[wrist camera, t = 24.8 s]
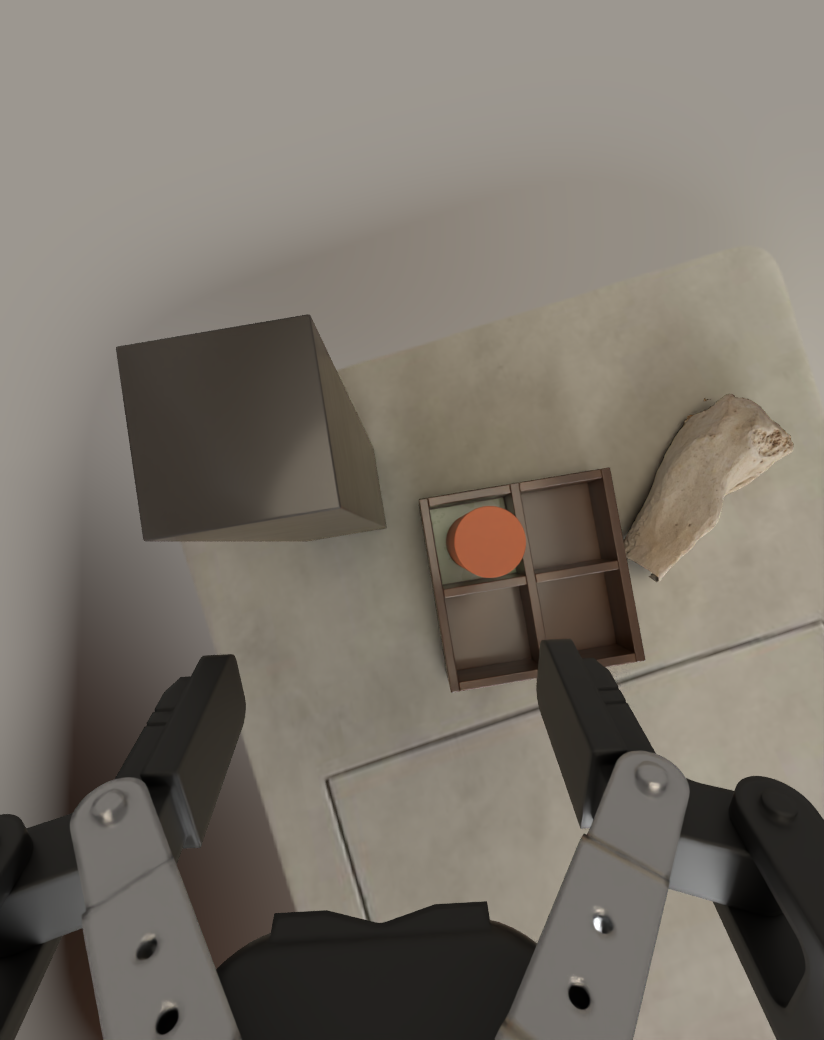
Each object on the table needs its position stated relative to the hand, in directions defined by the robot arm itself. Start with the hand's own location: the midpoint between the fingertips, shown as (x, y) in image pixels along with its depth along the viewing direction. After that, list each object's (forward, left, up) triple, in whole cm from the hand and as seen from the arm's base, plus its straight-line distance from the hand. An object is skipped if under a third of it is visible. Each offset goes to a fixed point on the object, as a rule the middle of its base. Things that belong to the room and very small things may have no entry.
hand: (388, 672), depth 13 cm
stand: (-4, +8, -24) cm, 25 cm away
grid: (+8, 0, -24) cm, 25 cm away
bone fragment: (+21, +4, -24) cm, 32 cm away
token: (+5, +3, -23) cm, 23 cm away
